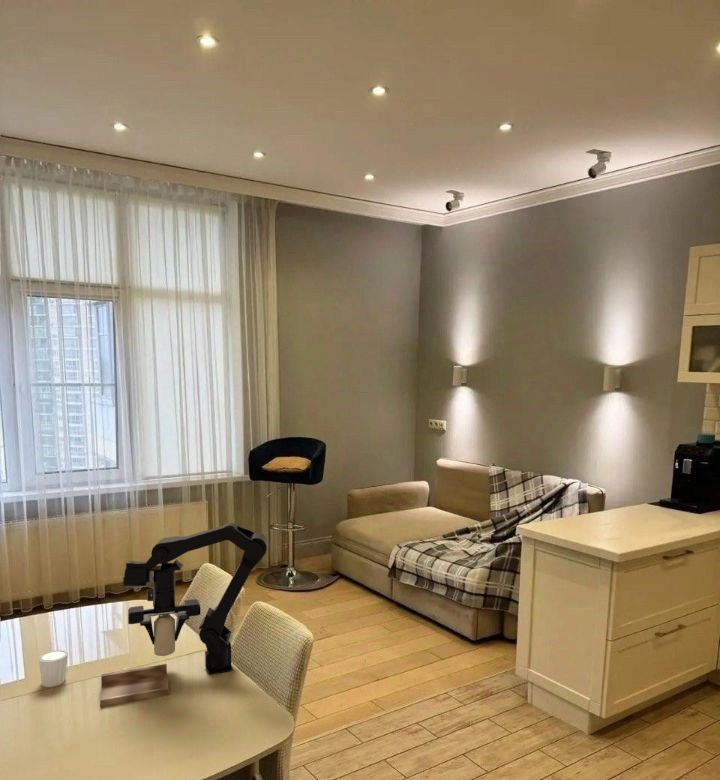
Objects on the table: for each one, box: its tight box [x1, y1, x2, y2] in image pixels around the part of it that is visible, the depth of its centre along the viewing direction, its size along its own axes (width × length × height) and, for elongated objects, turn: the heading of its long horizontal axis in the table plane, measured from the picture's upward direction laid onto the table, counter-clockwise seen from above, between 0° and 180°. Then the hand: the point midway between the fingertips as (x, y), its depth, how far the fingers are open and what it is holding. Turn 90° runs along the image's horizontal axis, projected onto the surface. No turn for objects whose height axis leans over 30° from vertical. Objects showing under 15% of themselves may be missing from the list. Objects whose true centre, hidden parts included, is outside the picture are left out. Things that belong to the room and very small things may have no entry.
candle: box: [153, 614, 176, 657], centre depth 167 cm, size 6×6×10 cm
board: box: [99, 663, 170, 707], centre depth 155 cm, size 16×9×4 cm, turn 111°
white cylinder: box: [38, 649, 69, 688], centre depth 161 cm, size 7×7×7 cm
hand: (164, 642), depth 167 cm, fingers closed on candle, 5 cm apart
